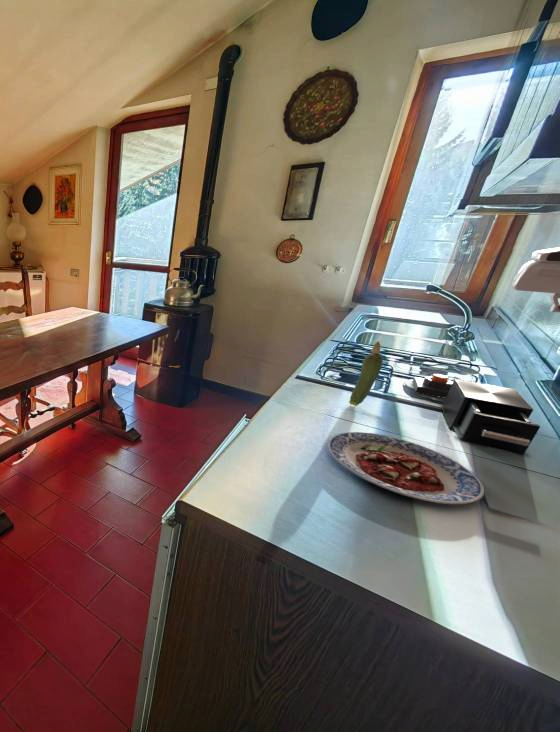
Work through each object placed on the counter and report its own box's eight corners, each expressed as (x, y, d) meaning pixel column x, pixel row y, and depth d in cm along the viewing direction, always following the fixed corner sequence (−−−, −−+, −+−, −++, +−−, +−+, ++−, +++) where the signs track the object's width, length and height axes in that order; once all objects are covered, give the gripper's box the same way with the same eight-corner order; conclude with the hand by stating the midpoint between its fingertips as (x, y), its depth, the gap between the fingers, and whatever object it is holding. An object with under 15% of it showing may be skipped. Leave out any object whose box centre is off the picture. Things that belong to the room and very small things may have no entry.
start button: (445, 380, 123) (447, 375, 122) (447, 384, 120) (449, 379, 119) (430, 377, 125) (432, 372, 124) (431, 381, 122) (434, 376, 121)
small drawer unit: (529, 465, 86) (547, 435, 83) (464, 449, 91) (479, 420, 88) (506, 432, 99) (521, 404, 96) (450, 420, 105) (463, 393, 102)
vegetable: (354, 401, 117) (378, 337, 108) (369, 408, 113) (395, 342, 105) (344, 403, 115) (367, 339, 107) (358, 410, 111) (383, 343, 103)
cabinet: (513, 444, 95) (533, 409, 92) (449, 429, 102) (465, 396, 98) (497, 421, 106) (515, 389, 102) (440, 409, 113) (454, 378, 109)
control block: (452, 390, 125) (457, 378, 123) (458, 401, 118) (464, 389, 116) (411, 382, 130) (416, 371, 129) (415, 392, 123) (420, 381, 121)
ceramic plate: (513, 527, 70) (521, 514, 69) (344, 493, 78) (349, 481, 77) (438, 451, 92) (444, 441, 91) (313, 431, 100) (317, 421, 99)
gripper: (653, 257, 90) (617, 316, 96) (524, 251, 101) (499, 304, 107) (670, 259, 85) (631, 321, 91) (532, 253, 96) (505, 308, 102)
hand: (558, 312), depth 99 cm, fingers closed
